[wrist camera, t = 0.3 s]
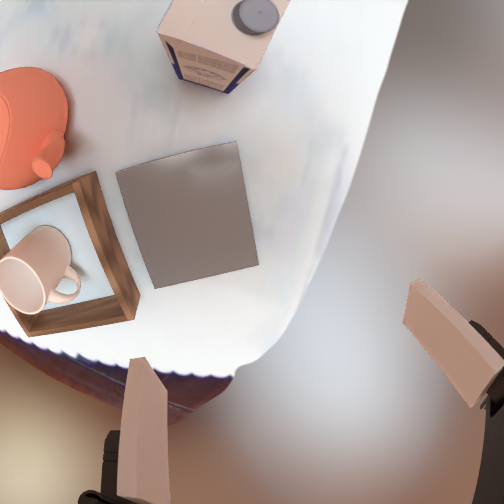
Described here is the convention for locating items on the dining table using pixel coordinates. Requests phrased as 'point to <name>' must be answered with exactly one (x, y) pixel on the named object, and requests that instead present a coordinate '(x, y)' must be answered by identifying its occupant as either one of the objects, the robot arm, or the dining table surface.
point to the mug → (37, 271)
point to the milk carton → (218, 38)
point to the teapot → (30, 126)
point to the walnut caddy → (108, 253)
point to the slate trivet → (190, 214)
